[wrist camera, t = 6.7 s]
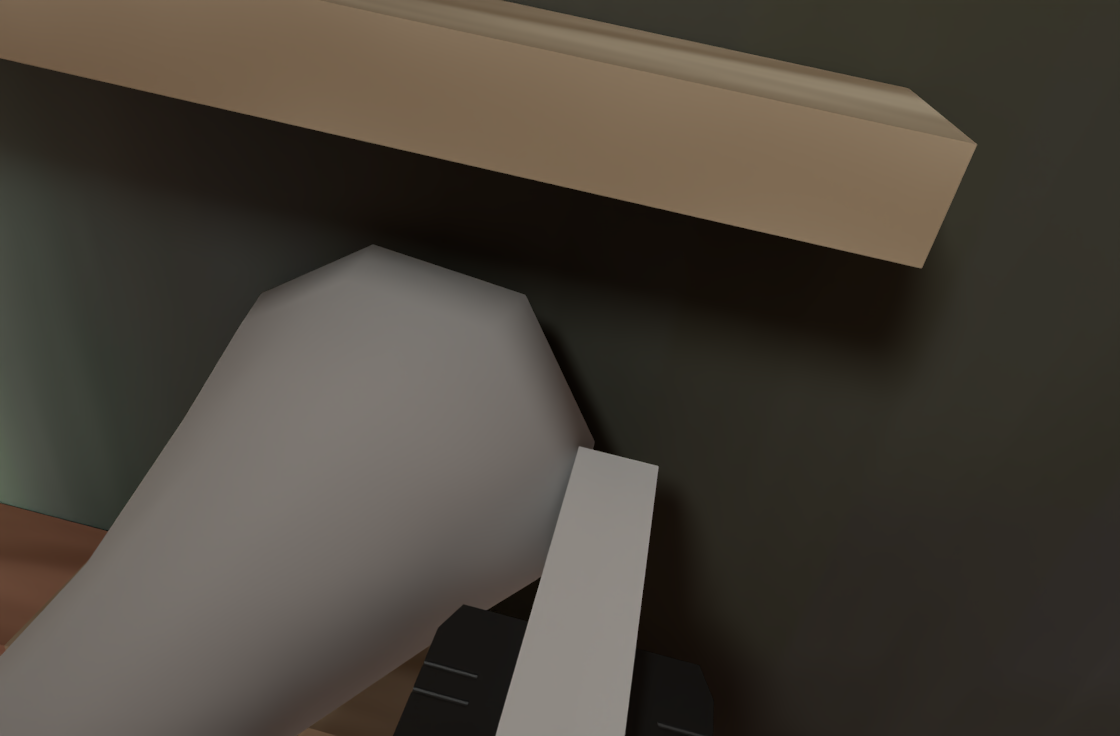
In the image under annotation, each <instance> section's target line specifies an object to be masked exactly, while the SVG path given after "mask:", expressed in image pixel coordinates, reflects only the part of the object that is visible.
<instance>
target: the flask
mask: <svg viewBox="0 0 1120 736" xmlns="http://www.w3.org/2000/svg"><path fill="white" fill-rule="evenodd" d="M594 443H595V441H594V439H593V437H592V435H591V433H590V431H589V429H588V426H587V424H586V422H585V420H584V418H583V416H582V414H581V412H580V410H579V407H578V405H577V403H576V401H575V399H574V397H573V395H572V393H571V390H570V388H569V386H568V384H567V382H566V380H565V378H564V376H563V373H562V371H561V369H560V367H559V365H558V363H557V361H556V359H555V356H554V354H553V352H552V350H551V348H550V346H549V344H548V342H547V339H546V337H545V335H544V333H543V331H542V329H541V327H540V325H539V322H538V320H537V318H536V316H535V314H534V312H533V310H532V308H531V305H530V303H529V301H528V299H527V297H526V295H524V294H521V293H518V292H515V291H512V290H509V289H506V288H503V287H500V286H497V285H494V284H491V283H488V282H485V281H482V280H479V279H476V278H473V277H470V276H467V275H464V274H461V273H458V272H455V271H452V270H449V269H446V268H443V267H440V266H437V265H434V264H431V263H428V262H425V261H422V260H419V259H416V258H413V257H410V256H407V255H404V254H401V253H398V252H395V251H392V250H389V249H386V248H383V247H380V246H377V245H374V244H373V245H370V246H368V247H366V248H364V249H361V250H359V251H357V252H354V253H352V254H350V255H348V256H345V257H343V258H341V259H338V260H336V261H334V262H332V263H329V264H327V265H325V266H322V267H320V268H318V269H316V270H313V271H311V272H309V273H306V274H304V275H302V276H300V277H297V278H295V279H293V280H290V281H288V282H286V283H284V284H281V285H279V286H277V287H274V288H272V289H270V290H268V291H265V292H263V293H261V295H260V296H259V298H258V299H257V301H256V302H255V304H254V305H253V307H252V308H251V310H250V311H249V313H248V314H247V316H246V317H245V319H244V320H243V322H242V323H241V325H240V326H239V328H238V330H237V331H236V333H235V335H234V336H233V338H232V340H231V341H230V343H229V344H228V346H227V348H226V349H225V351H224V353H223V354H222V356H221V358H220V359H219V361H218V363H217V364H216V366H215V368H214V369H213V371H212V373H211V374H210V376H209V378H208V379H207V381H206V383H205V384H204V386H203V388H202V389H201V391H200V393H199V394H198V396H197V398H196V399H195V401H194V403H193V404H192V406H191V407H190V409H189V411H188V412H187V414H186V416H185V417H184V419H183V421H182V422H181V424H180V425H179V427H178V428H177V430H176V431H175V433H174V434H173V436H172V437H171V438H170V440H169V441H168V443H167V444H166V446H165V447H164V449H163V450H162V452H161V453H160V455H159V456H158V458H157V459H156V461H155V462H154V464H153V465H152V467H151V468H150V470H149V471H148V473H147V474H146V476H145V477H144V479H143V480H142V482H141V483H140V485H139V486H138V488H137V489H136V491H135V492H134V494H133V495H132V497H131V498H130V499H129V501H128V502H127V504H126V505H125V507H124V508H123V510H122V511H121V513H120V514H119V516H118V517H117V519H116V520H115V522H114V523H113V525H112V526H111V528H110V529H109V531H108V532H107V534H106V535H105V537H104V538H103V540H102V541H101V543H100V544H99V546H98V547H97V549H96V550H95V552H94V553H93V555H92V556H91V558H90V559H89V560H88V562H87V563H86V564H85V565H84V567H83V568H82V569H81V570H80V571H79V572H78V573H77V574H76V575H75V576H74V577H73V578H72V579H71V581H70V582H69V583H68V584H67V585H66V586H65V587H64V588H63V589H62V590H61V591H60V592H59V593H58V595H57V596H56V597H55V598H54V599H53V600H52V601H51V602H50V603H49V604H48V605H47V606H46V608H45V609H44V610H43V611H42V612H41V613H40V614H39V615H38V616H37V617H36V618H35V619H34V620H33V622H32V623H31V624H30V625H29V626H28V627H27V628H26V629H25V630H24V631H23V632H22V633H21V634H20V636H19V637H18V638H17V639H16V640H15V641H14V642H13V643H12V644H11V645H10V646H9V647H8V648H7V650H6V651H5V652H4V653H3V654H2V655H1V656H0V736H297V735H298V734H300V733H301V732H303V731H304V730H306V729H307V728H309V727H310V726H312V725H313V724H314V723H316V722H317V721H319V720H320V719H322V718H323V717H325V716H326V715H328V714H329V713H331V712H332V711H334V710H335V709H337V708H338V707H340V706H341V705H343V704H344V703H346V702H347V701H349V700H350V699H351V698H353V697H354V696H356V695H357V694H359V693H360V692H362V691H363V690H365V689H366V688H368V687H369V686H371V685H372V684H374V683H375V682H377V681H378V680H380V679H381V678H383V677H384V676H385V675H387V674H388V673H390V672H391V671H393V670H394V669H396V668H397V667H399V666H400V665H402V664H403V663H405V662H406V661H408V660H409V659H411V658H412V657H414V656H415V655H417V654H418V653H419V652H421V651H422V650H424V649H425V648H427V647H428V646H430V645H431V643H432V641H433V638H434V636H435V634H436V631H437V629H438V627H439V626H440V625H441V624H442V623H444V622H445V621H446V620H447V619H448V618H449V617H450V616H451V615H452V614H453V613H454V612H455V611H456V610H458V609H459V608H460V607H461V606H462V605H463V604H465V605H468V606H472V607H476V608H480V609H483V610H488V609H490V608H491V607H493V606H494V605H496V604H498V603H499V602H501V601H503V600H504V599H506V598H507V597H509V596H511V595H512V594H514V593H516V592H517V591H519V590H521V589H522V588H524V587H525V586H527V585H529V584H530V583H532V582H534V581H535V580H537V579H538V578H540V577H541V576H542V573H543V569H544V566H545V562H546V559H547V555H548V552H549V548H550V545H551V542H552V538H553V535H554V531H555V528H556V524H557V521H558V517H559V514H560V510H561V507H562V503H563V500H564V497H565V493H566V490H567V486H568V483H569V479H570V476H571V472H572V469H573V465H574V462H575V458H576V455H577V451H578V448H579V446H580V447H584V448H588V449H592V450H593V447H594Z"/></svg>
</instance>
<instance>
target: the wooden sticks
mask: <svg viewBox="0 0 1120 736" xmlns="http://www.w3.org/2000/svg"><path fill="white" fill-rule="evenodd" d="M0 58H2V59H6V60H11V61H15V62H19V63H24V64H28V65H32V66H37V67H41V68H46V69H50V70H54V71H59V72H63V73H68V74H72V75H76V76H81V77H85V78H89V79H94V80H98V81H103V82H107V83H111V84H116V85H120V86H124V87H129V88H133V89H138V90H142V91H146V92H151V93H155V94H159V95H164V96H168V97H173V98H177V99H181V100H186V101H190V102H195V103H199V104H203V105H208V106H212V107H216V108H221V109H225V110H230V111H234V112H238V113H243V114H247V115H251V116H256V117H260V118H265V119H269V120H273V121H278V122H282V123H286V124H291V125H295V126H300V127H304V128H308V129H313V130H317V131H322V132H326V133H330V134H335V135H339V136H343V137H348V138H352V139H357V140H361V141H365V142H370V143H374V144H378V145H383V146H387V147H392V148H396V149H400V150H405V151H409V152H414V153H418V154H422V155H427V156H431V157H435V158H440V159H444V160H449V161H453V162H457V163H462V164H466V165H470V166H475V167H479V168H484V169H488V170H492V171H497V172H501V173H505V174H510V175H514V176H519V177H523V178H527V179H532V180H536V181H541V182H545V183H549V184H554V185H558V186H562V187H567V188H571V189H576V190H580V191H584V192H589V193H593V194H597V195H602V196H606V197H611V198H615V199H619V200H624V201H628V202H632V203H637V204H641V205H646V206H650V207H654V208H659V209H663V210H668V211H672V212H676V213H681V214H685V215H689V216H694V217H698V218H703V219H707V220H711V221H716V222H720V223H724V224H729V225H733V226H738V227H742V228H746V229H751V230H755V231H759V232H764V233H768V234H773V235H777V236H781V237H786V238H790V239H795V240H799V241H803V242H808V243H812V244H816V245H821V246H825V247H830V248H834V249H838V250H843V251H847V252H851V253H856V254H860V255H865V256H869V257H873V258H878V259H882V260H887V261H891V262H895V263H900V264H904V265H908V266H913V267H917V268H922V267H923V265H924V262H925V260H926V258H927V256H928V253H929V251H930V249H931V247H932V244H933V242H934V240H935V238H936V235H937V233H938V231H939V229H940V226H941V224H942V222H943V220H944V218H945V215H946V213H947V211H948V209H949V206H950V204H951V202H952V200H953V197H954V195H955V193H956V191H957V188H958V186H959V184H960V182H961V179H962V177H963V175H964V173H965V170H966V168H967V166H968V164H969V161H970V159H971V157H972V155H973V152H974V150H975V148H976V146H977V144H976V143H975V142H974V141H972V140H971V139H970V138H969V137H967V136H966V135H965V134H964V133H963V132H961V131H960V130H959V129H958V128H956V127H955V126H954V125H953V124H952V123H950V122H949V121H948V120H947V119H945V118H944V117H943V116H942V115H941V114H939V113H938V112H937V111H936V110H934V109H933V108H932V107H931V106H930V105H928V104H927V103H926V102H925V101H923V100H922V99H921V98H920V97H919V96H917V95H916V94H915V93H914V92H912V91H911V90H910V89H909V88H905V87H900V86H895V85H891V84H886V83H882V82H877V81H872V80H868V79H863V78H858V77H854V76H849V75H845V74H840V73H835V72H831V71H826V70H821V69H817V68H812V67H808V66H803V65H798V64H794V63H789V62H784V61H780V60H775V59H771V58H766V57H761V56H757V55H752V54H747V53H743V52H738V51H734V50H729V49H724V48H720V47H715V46H710V45H706V44H701V43H697V42H692V41H687V40H683V39H678V38H673V37H669V36H664V35H660V34H655V33H650V32H646V31H641V30H636V29H632V28H627V27H623V26H618V25H613V24H609V23H604V22H599V21H595V20H590V19H586V18H581V17H576V16H572V15H567V14H562V13H558V12H553V11H549V10H544V9H539V8H535V7H530V6H525V5H521V4H516V3H512V2H507V1H502V0H0ZM107 532H108V531H105V530H101V529H97V528H93V527H90V526H86V525H82V524H78V523H74V522H70V521H67V520H63V519H59V518H55V517H51V516H47V515H44V514H40V513H36V512H32V511H28V510H24V509H21V508H17V507H13V506H9V505H5V504H1V503H0V656H1V655H2V654H3V653H4V652H5V651H6V650H7V648H8V647H9V646H10V645H11V644H12V643H13V642H14V641H15V640H16V639H17V638H18V637H19V636H20V634H21V633H22V632H23V631H24V630H25V629H26V628H27V627H28V626H29V625H30V624H31V623H32V622H33V620H34V619H35V618H36V617H37V616H38V615H39V614H40V613H41V612H42V611H43V610H44V609H45V608H46V606H47V605H48V604H49V603H50V602H51V601H52V600H53V599H54V598H55V597H56V596H57V595H58V593H59V592H60V591H61V590H62V589H63V588H64V587H65V586H66V585H67V584H68V583H69V582H70V581H71V579H72V578H73V577H74V576H75V575H76V574H77V573H78V572H79V571H80V570H81V569H82V568H83V567H84V565H85V564H86V563H87V562H88V560H89V559H90V558H91V556H92V555H93V553H94V552H95V550H96V549H97V547H98V546H99V544H100V543H101V541H102V540H103V538H104V537H105V535H106V534H107ZM430 646H431V645H430ZM430 646H428V647H427V648H425V649H424V650H422V651H421V652H419V653H418V654H417V655H415V656H414V657H412V658H411V659H409V660H408V661H406V662H405V663H403V664H402V665H400V666H399V667H397V668H396V669H394V670H393V671H391V672H390V673H388V674H387V675H385V676H384V677H383V678H381V679H380V680H378V681H377V682H375V683H374V684H372V685H371V686H369V687H368V688H366V689H365V690H363V691H362V692H360V693H359V694H357V695H356V696H354V697H353V698H351V699H350V700H349V701H347V702H346V703H344V704H343V705H341V706H340V707H338V708H337V709H335V710H334V711H332V712H331V713H329V714H328V715H326V716H325V717H323V718H322V719H320V720H319V721H317V722H316V723H314V724H313V725H312V726H310V727H309V728H307V729H306V730H304V731H303V732H301V733H300V734H298V735H297V736H393V734H394V732H395V729H396V727H397V725H398V722H399V720H400V717H401V715H402V713H403V710H404V708H405V705H406V703H407V701H408V698H409V696H410V694H411V692H412V691H413V687H414V684H415V682H416V679H417V677H418V674H419V672H420V670H421V667H422V666H423V664H424V661H425V658H426V655H427V653H428V650H429V648H430Z"/></svg>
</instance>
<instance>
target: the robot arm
mask: <svg viewBox="0 0 1120 736" xmlns="http://www.w3.org/2000/svg"><path fill="white" fill-rule="evenodd" d="M658 467H659V466H656V465H652V464H648V463H644V462H640V461H636V460H632V459H628V458H624V457H620V456H616V455H612V454H608V453H604V452H600V451H596V450H592V449H588V448H584V447H580V446H579V448H578V451H577V455H576V458H575V462H574V465H573V469H572V472H571V476H570V479H569V483H568V486H567V490H566V493H565V497H564V500H563V503H562V507H561V510H560V514H559V517H558V521H557V524H556V528H555V531H554V535H553V538H552V542H551V545H550V548H549V552H548V555H547V559H546V562H545V566H544V569H543V573H542V576H541V580H540V583H539V587H538V590H537V594H536V597H535V600H534V604H533V607H532V611H531V614H530V618H529V621H524V620H520V619H517V618H513V617H509V616H506V615H502V614H498V613H494V612H491V611H487V610H483V609H480V608H476V607H472V606H468V605H465V604H463V605H462V606H461V607H460V608H459V609H458V610H456V611H455V612H454V613H453V614H452V615H451V616H450V617H449V618H448V619H447V620H446V621H445V622H444V623H442V624H441V625H440V626H439V627H438V629H437V631H436V634H435V636H434V638H433V641H432V643H431V646H430V648H429V650H428V653H427V655H426V658H425V661H424V664H423V666H422V667H421V670H420V672H419V674H418V677H417V679H416V682H415V684H414V687H413V691H412V692H411V694H410V696H409V698H408V701H407V703H406V705H405V708H404V710H403V713H402V715H401V717H400V720H399V722H398V725H397V727H396V729H395V732H394V734H393V736H713V709H714V700H713V697H712V695H711V693H710V690H709V688H708V685H707V683H706V680H705V678H704V675H703V673H702V670H701V668H700V666H699V665H696V664H693V663H689V662H685V661H681V660H678V659H674V658H670V657H666V656H663V655H659V654H655V653H652V652H648V651H644V650H640V649H637V648H636V642H637V634H638V626H639V618H640V610H641V602H642V594H643V587H644V579H645V571H646V563H647V555H648V547H649V539H650V531H651V523H652V515H653V507H654V499H655V491H656V483H657V475H658Z"/></svg>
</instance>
